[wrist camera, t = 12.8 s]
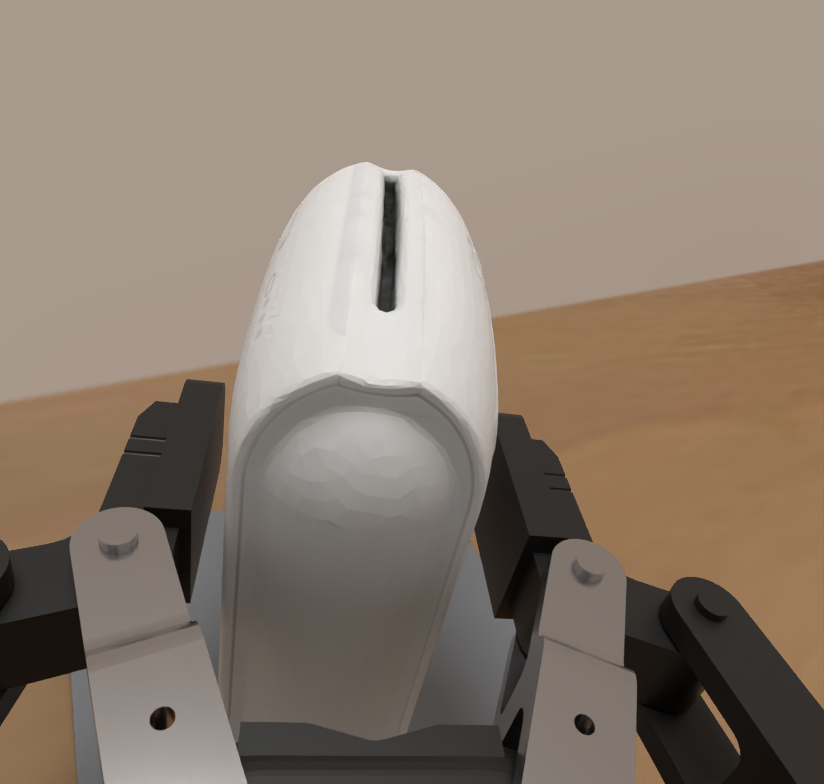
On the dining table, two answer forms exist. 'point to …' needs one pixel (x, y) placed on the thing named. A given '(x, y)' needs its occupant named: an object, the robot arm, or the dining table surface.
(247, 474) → the photo printer
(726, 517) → the dining table surface
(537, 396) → the dining table surface
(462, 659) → the rubber mat
